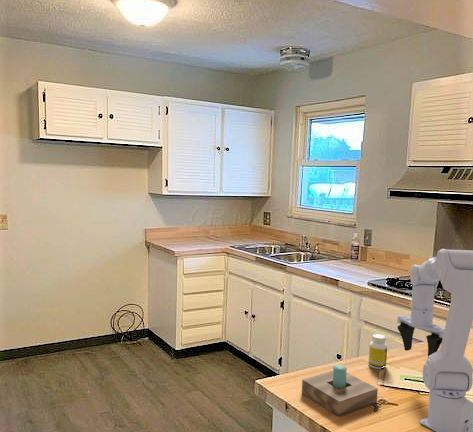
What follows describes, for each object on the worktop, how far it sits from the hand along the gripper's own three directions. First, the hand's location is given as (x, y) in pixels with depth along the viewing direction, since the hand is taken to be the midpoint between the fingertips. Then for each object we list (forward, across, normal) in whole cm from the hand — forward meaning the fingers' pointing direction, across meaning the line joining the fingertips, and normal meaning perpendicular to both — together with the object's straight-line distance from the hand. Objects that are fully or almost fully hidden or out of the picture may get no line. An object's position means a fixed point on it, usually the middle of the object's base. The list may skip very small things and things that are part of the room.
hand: (419, 354), depth 129 cm
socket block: (+10, +7, +24) cm, 27 cm away
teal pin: (+9, +7, +24) cm, 27 cm away
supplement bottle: (+10, +16, -2) cm, 19 cm away
